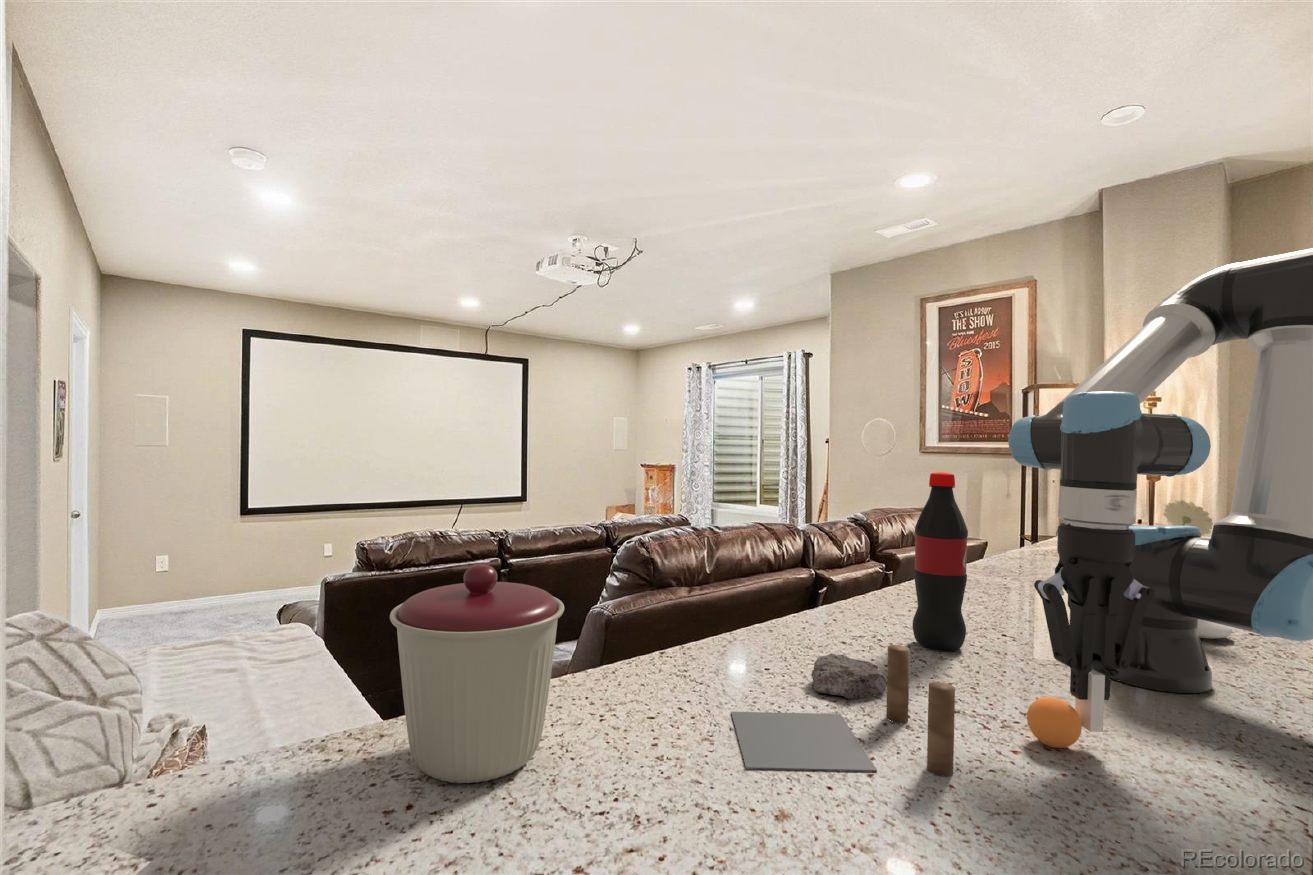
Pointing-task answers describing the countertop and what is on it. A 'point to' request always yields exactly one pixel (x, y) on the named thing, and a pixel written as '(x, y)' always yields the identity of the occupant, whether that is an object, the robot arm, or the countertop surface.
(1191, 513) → the flower in vase
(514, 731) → the canister
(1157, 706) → the countertop surface
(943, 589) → the cola bottle
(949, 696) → the post
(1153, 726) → the countertop surface
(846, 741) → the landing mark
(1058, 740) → the ball
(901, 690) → the post
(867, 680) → the rock
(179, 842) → the countertop surface
